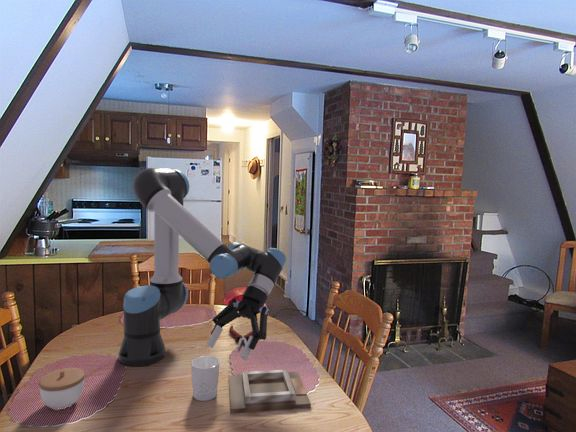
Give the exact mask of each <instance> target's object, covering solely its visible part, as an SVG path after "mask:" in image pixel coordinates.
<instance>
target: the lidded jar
mask: <svg viewBox="0 0 576 432" xmlns="http://www.w3.org/2000/svg"><path fill="white" fill-rule="evenodd" d="M38 385H39V386H38V387H39V395H40V398H41V400H42V403H43V404H44V405H45V406H46V407H48V408H50V409H51V408H54V409H58V408H64V407H67V406H70V405H72V404H73V403H75V404H76V402H77V401H78V400H79V399H80V397H81V396H82V394H83V391H84V388H85V387H84V386H85V371H84V370H82V369H81V368H79V367H64V368H59V369H55V370H52V371H50V372H48V373H46V374H44V375H43V376H42V377H41V378H40V379H39V382H38Z"/></svg>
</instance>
